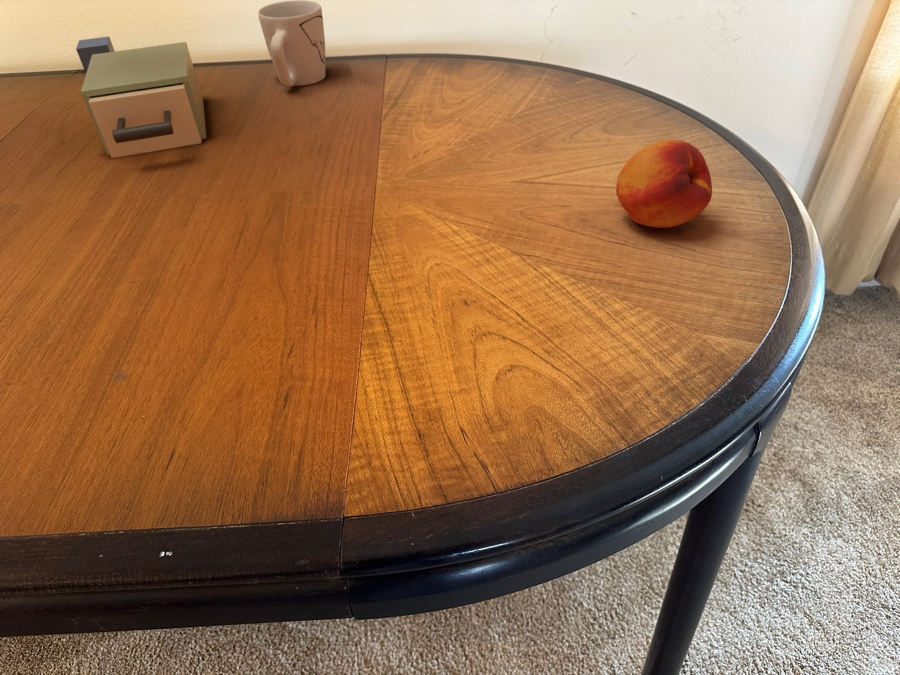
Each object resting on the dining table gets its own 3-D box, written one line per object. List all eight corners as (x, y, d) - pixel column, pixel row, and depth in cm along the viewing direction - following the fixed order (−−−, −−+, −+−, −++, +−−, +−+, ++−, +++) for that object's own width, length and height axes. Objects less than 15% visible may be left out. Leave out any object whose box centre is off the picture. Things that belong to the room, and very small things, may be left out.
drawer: (202, 162, 74) (184, 104, 70) (108, 178, 72) (83, 119, 68) (199, 106, 87) (183, 54, 82) (118, 118, 85) (98, 66, 80)
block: (87, 78, 100) (75, 48, 97) (90, 69, 103) (78, 40, 100) (118, 74, 100) (107, 44, 98) (119, 65, 104) (109, 36, 101)
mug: (316, 103, 88) (301, 25, 81) (257, 102, 89) (238, 25, 83) (340, 73, 96) (328, -1, 90) (286, 72, 98) (271, 0, 91)
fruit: (648, 254, 58) (663, 172, 53) (595, 213, 64) (604, 135, 58) (716, 231, 60) (738, 150, 55) (660, 193, 66) (674, 117, 61)
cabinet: (208, 145, 79) (187, 75, 74) (110, 162, 77) (80, 91, 72) (205, 105, 89) (186, 41, 84) (117, 119, 87) (91, 54, 81)
